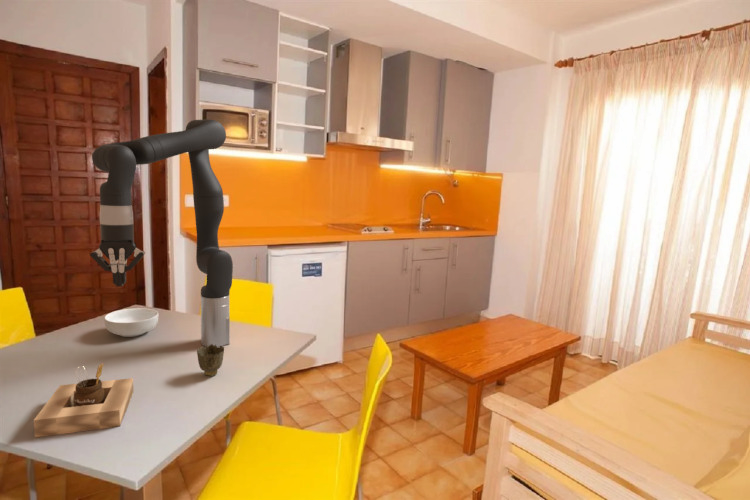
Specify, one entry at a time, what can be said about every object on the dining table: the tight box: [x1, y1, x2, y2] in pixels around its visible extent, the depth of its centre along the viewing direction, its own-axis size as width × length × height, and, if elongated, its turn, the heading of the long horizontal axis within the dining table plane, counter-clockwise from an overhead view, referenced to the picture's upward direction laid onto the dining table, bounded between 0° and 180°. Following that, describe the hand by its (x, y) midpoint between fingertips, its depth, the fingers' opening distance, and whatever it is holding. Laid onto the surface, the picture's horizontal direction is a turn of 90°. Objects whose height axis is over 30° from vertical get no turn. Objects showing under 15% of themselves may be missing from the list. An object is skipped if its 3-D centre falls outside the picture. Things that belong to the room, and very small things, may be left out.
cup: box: [196, 344, 225, 377], centre depth 122 cm, size 8×7×8 cm
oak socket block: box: [33, 377, 134, 438], centre depth 99 cm, size 16×16×4 cm
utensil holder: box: [74, 362, 105, 407], centre depth 99 cm, size 6×6×12 cm
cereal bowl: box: [103, 307, 159, 338], centre depth 149 cm, size 17×17×7 cm
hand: (119, 285), depth 113 cm, fingers closed
